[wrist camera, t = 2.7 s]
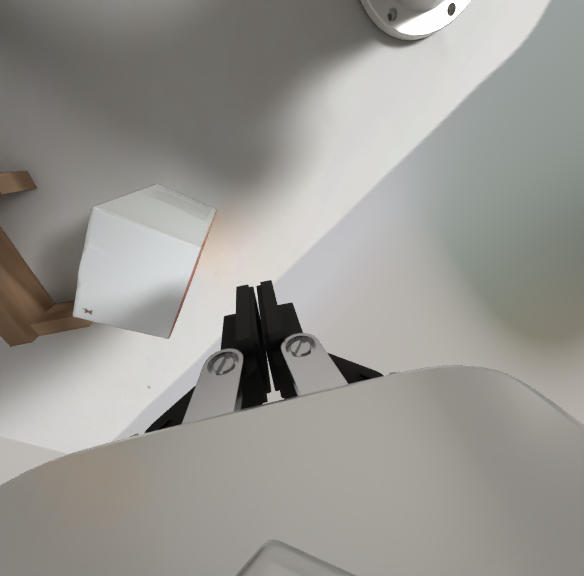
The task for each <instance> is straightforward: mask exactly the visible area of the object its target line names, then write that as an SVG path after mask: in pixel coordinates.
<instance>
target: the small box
mask: <svg viewBox="0 0 584 576" xmlns="http://www.w3.org/2000/svg"><path fill="white" fill-rule="evenodd" d="M215 214H216V209H213V208H211V207H209V206H207V205H204V204H202V203H200V202H198V201H195V200H193V199H191V198H189V197H186V196H184V195H182V194H179V193H177V192H175V191H173V190H171V189H168V188H166V187H164V186H162V185H159V184H155V185H152V186H149V187H146V188H144V189H141V190H138V191H135V192H133V193H130V194H127V195H124V196H121V197H119V198H116V199H113V200H110V201H108V202H105V203H102V204H99V205H96V206H94V207H92V209H91V214H90V218H89V223H88V228H87V233H86V238H85V244H84V249H83V253H82V257H81V261H80V265H79V271H78V283H77V291H76V297H75V304H74V310H73V316H74V317H77V318H81V319H85V320H89V321H93V322H97V323H101V324H105V325H110V326H114V327H118V328H122V329H127V330H131V331H135V332H140V333H144V334H148V335H153V336H158V337H162V338H166V339H168V338H170V335H171V333H172V331H173V328H174V325H175V323H176V321H177V318H178V315H179V313H180V310H181V308H182V305H183V302H184V300H185V297H186V294H187V292H188V289H189V286H190V283H191V281H192V278H193V276H194V273H195V270H196V267H197V264H198V261H199V259H200V256H201V253H202V250H203V247H204V245H205V242H206V239H207V236H208V233H209V230H210V228H211V225H212V222H213V219H214V217H215Z"/></svg>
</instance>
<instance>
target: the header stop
mask: <svg viewBox="0 0 584 576" xmlns="http://www.w3.org/2000/svg"><path fill="white" fill-rule="evenodd" d="M35 188H37V187H36V185H35V184H34V182H33V180H32V179H31V177H30V175H29V173H28V172H27V171H18V172H6V173H0V194H6V193H12V192H18V191H24V190H30V189H35ZM74 304H75V301H70V302H65V303H59V304H55V303H54V302H53V301H52V299H51V298H50V296H49V295H48V294H47V292H46V291H45V289H44V288H43V286H42V285H41V284H40V282H39V281H38V279H37V278H36V277H35V275H34V274H33V272H32V271H31V269H30V268H29V267H28V265H27V264H26V262H25V261H24V260H23V258H22V257H21V255H20V254H19V252H18V251H17V250H16V248H15V247H14V245H13V244H12V243H11V241H10V240H9V238H8V237H7V235H6V234H5V233H4V231H3V230H2V228H1V227H0V336H1V337H2V338H3V339H4V340H5V341H6V342H7V343H8V344H9V345H10V347H11V346H16V345H21V344H26V343H31V342H33V341H34V340H35V339H36V338H37V337H38V336H42V335H47V334H52V333H57V332H63V331H68V330H73V329H78V328H83V327H89V326H90V325H91V324H92V322H93V321H89V320H85V319H81V318H77V317H74V316H73V310H74Z"/></svg>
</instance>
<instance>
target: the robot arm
mask: <svg viewBox="0 0 584 576" xmlns="http://www.w3.org/2000/svg"><path fill="white" fill-rule="evenodd" d="M360 1H361V3H362V5H363V7H364V8H365V10H366V12H367V14H368V15H369V17H370V18H371V19H372V21H373V22H374V23H375V24H376V25H377V26H378V27H379V28H380V29H381V30H383V31H384V32H386V33H387V34H388V35H390V36H392V37H395V38H398V39H401V40H417V39H421V38H425V37H428V36H430V35H432V34H434V33H436V32H438V31H439V30H441V29H442V28H444V27H445V26H447V25H448V24H450V23H451V22H452V21H453V20H454V19H455V18H456V17H457V16H458V15H459V14H461V13H462V12H463V10H464V9H465V8H466V6H467V5H468V4H469V3H470V1H471V0H360ZM388 17H389V20H388ZM260 283H261V285H259V286H257V294H258V302H259V310H260V315H259V311H258V307H257V302H256V297H255V293H254V288H253V287H249V286H248V285H243V286H238V287H237V290H236V314H232V315H227V316H224V323H223V332H222V343H221V350H220V351H218V352H215V353H214V354H212V355H211V356H210V357H209V358H208V359H207V360H206V361H205V363H204V365H203V368H202V370H201V373H200V376H199V378H198V381H197V384H196V386H195V387H193V388H192V389H191V390H190V391H189V392H188V393H187V394H186V395H184V396H183V397H182V398H181V399H180V400H179V401H178V402H176V403H175V404H174V405H173V406H172V407H171V408H170V409H169V410H167V411H166V412H165V413H164V414H163V415H162V416H161V417H160V418H159V419H157V420H156V421H155V422H154V423H153V424H152V425H151V426H150V427H149V428H148V429H147V430H146V432H145V433H144V434H141V435H139V434H138V433H137V434H135V435H133V436H130V437H128V438H125V439H121V440H117V441H113V442H110V443H106V444H103V445H99V446H96V447H92V448H89V449H85V450H81V451H78V452H74V453H71V454H69V455H66V456H63V457H60V458H57V459H55V460H52V461H49V462H47V463H45V464H42V465H40V466H38V467H35V468H33V469H31V470H29V471H26V472H24V473H22V474H21V475H19V476H17V477H15V478H13V479H11V480H9V481H7V482H6V483H4V484H2V485H0V576H584V424H582V423H581V422H580V421H579V420H577V419H576V418H575V417H573V416H572V415H570V414H569V413H568V412H566V411H565V410H563V409H562V408H561V407H560V406H558V405H557V404H556V403H554V402H553V401H551V400H550V399H549V398H547V397H546V396H544V395H543V394H541V393H540V392H538V391H537V390H536V389H534V388H532V387H531V386H529V385H528V384H526V383H524V382H523V381H521V380H519V379H517V378H515V377H513V376H511V375H509V374H506V373H503V372H501V371H498V370H493V369H488V368H483V367H474V366H463V365H453V366H436V367H427V368H421V369H416V370H411V371H406V372H398V373H390V374H389V375H386V376H383V375H382V374H381V373H379V372H377V371H375V370H372V369H369V368H367V367H364V366H361V365H359V364H356V363H353V362H351V361H348V360H345V359H343V358H340V357H337V356H335V355H332V354H329V353H327V352H326V350H325V349H324V348H323V346H322V345H321V343H320V342H319V340H318V339H317V338H316V337H315V336H313V335H311V334H307V333H303V332H302V329H301V326H300V323H299V320H298V317H297V315H296V312H295V309H294V306H293V303H288V304H282V305H277V302H276V297H275V293H274V290H273V285H272V281H271V280H270V281H264V282H260ZM266 353H267V355H266ZM267 357H268V361H269V366H270V370H271V374H272V379H273V383H274V388H275V391H279V390H280V393H281V397H282V398H284V400H279V401H275V402H271V403H267V404H263V403H265V402H267V393H270V392H271V385H270V378H269V370H268V363H267ZM262 404H263V405H262Z"/></svg>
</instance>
